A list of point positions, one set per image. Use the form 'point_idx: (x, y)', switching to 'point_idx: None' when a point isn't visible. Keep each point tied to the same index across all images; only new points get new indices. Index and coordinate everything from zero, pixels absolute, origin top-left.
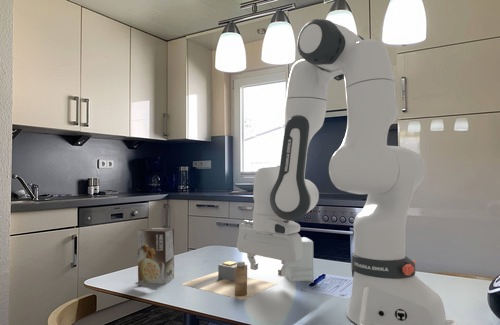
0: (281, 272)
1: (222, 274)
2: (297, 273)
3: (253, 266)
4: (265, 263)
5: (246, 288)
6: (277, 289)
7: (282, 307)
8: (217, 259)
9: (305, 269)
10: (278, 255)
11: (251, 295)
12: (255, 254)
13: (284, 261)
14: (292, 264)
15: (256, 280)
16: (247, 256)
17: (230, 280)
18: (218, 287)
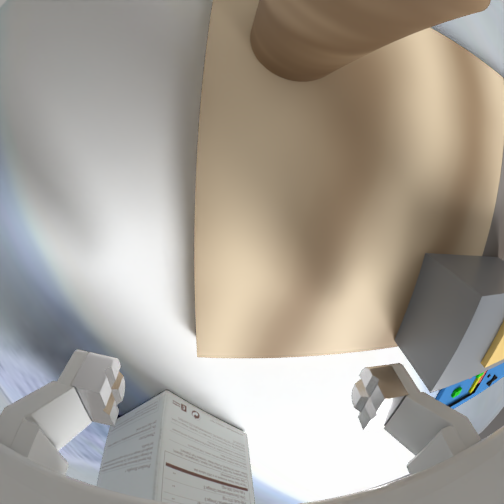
0: (71, 369)
1: (500, 266)
2: (136, 444)
3: (386, 382)
4: (366, 463)
5: (256, 23)
6: (182, 324)
7: (21, 95)
8: (482, 401)
9: (114, 464)
10: (11, 498)
11: (212, 53)
12: (414, 479)
13: (2, 437)
14: (145, 480)
15: (337, 342)
16: (467, 420)
17: (457, 256)
18: (466, 120)
